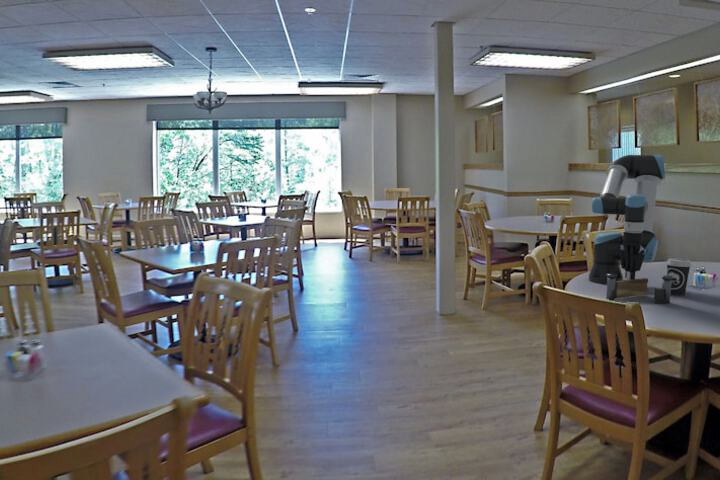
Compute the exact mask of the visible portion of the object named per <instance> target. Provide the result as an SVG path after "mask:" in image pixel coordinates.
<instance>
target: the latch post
mask: <svg viewBox="0 0 720 480" xmlns="http://www.w3.org/2000/svg"><path fill="white" fill-rule="evenodd" d="M661 279H662V283H661V288H658V287H657V288H656V287H655V288H654V295H653V304H655V305H656V304H657V305H658V304H660V305H661V304H662V305H664V304H670V303H671V296H672V295H671V282H672V279H673V277H672V276H667V274H666V275H661Z"/></svg>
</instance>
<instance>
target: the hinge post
mask: <svg viewBox="0 0 720 480" xmlns="http://www.w3.org/2000/svg"><path fill="white" fill-rule="evenodd" d="M607 276H608V279H607V284H606V297H605V298H606V299H609V300H608V301H610V300H614V301H615V300H616V299H615V287H616V277H617V274H613V273H608V274H607ZM606 299H605V300H606Z"/></svg>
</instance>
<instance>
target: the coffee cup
mask: <svg viewBox="0 0 720 480" xmlns="http://www.w3.org/2000/svg"><path fill="white" fill-rule="evenodd" d="M665 265H666V275H667V276H672V277H673V279H672V282H671V296H678V297H679V296H680V297H681V296H685V295H686V291H687V285H688V280H689V273H690V269H691V267H692V263H691V261H690V260H689V259H686V258H679V257H672V258H671V257H670V258H668V259H667V261H666V262H665Z"/></svg>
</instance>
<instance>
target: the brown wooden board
mask: <svg viewBox="0 0 720 480" xmlns="http://www.w3.org/2000/svg"><path fill="white" fill-rule="evenodd" d="M648 282H649V278H646V277H642V278H641V277H639V278H635V279H630V280H626V279H623V280H621V281H616V287H615V300H616V299H620V298H621V299H623V298H624V299H625V298H631V297H637V296H638V297H639V296H647V291H648V290H647V289H648Z"/></svg>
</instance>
